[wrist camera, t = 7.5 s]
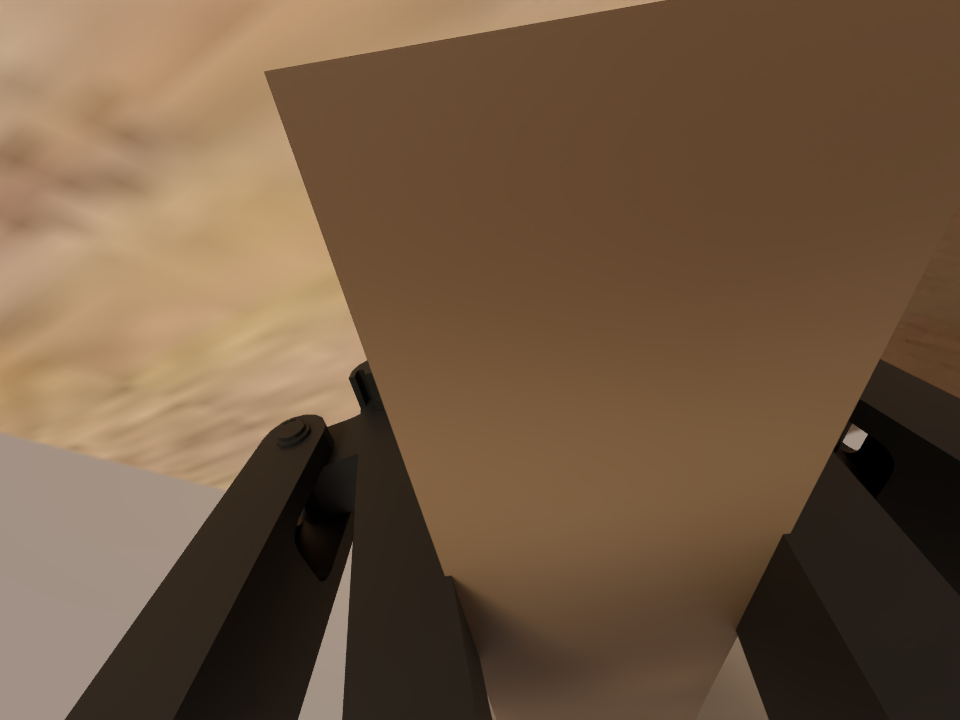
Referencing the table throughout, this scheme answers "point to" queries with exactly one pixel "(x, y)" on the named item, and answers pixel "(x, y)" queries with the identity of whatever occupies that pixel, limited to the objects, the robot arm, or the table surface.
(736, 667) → the l-bracket with handles
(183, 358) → the table surface
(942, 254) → the wooden block
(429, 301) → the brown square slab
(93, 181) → the table surface
